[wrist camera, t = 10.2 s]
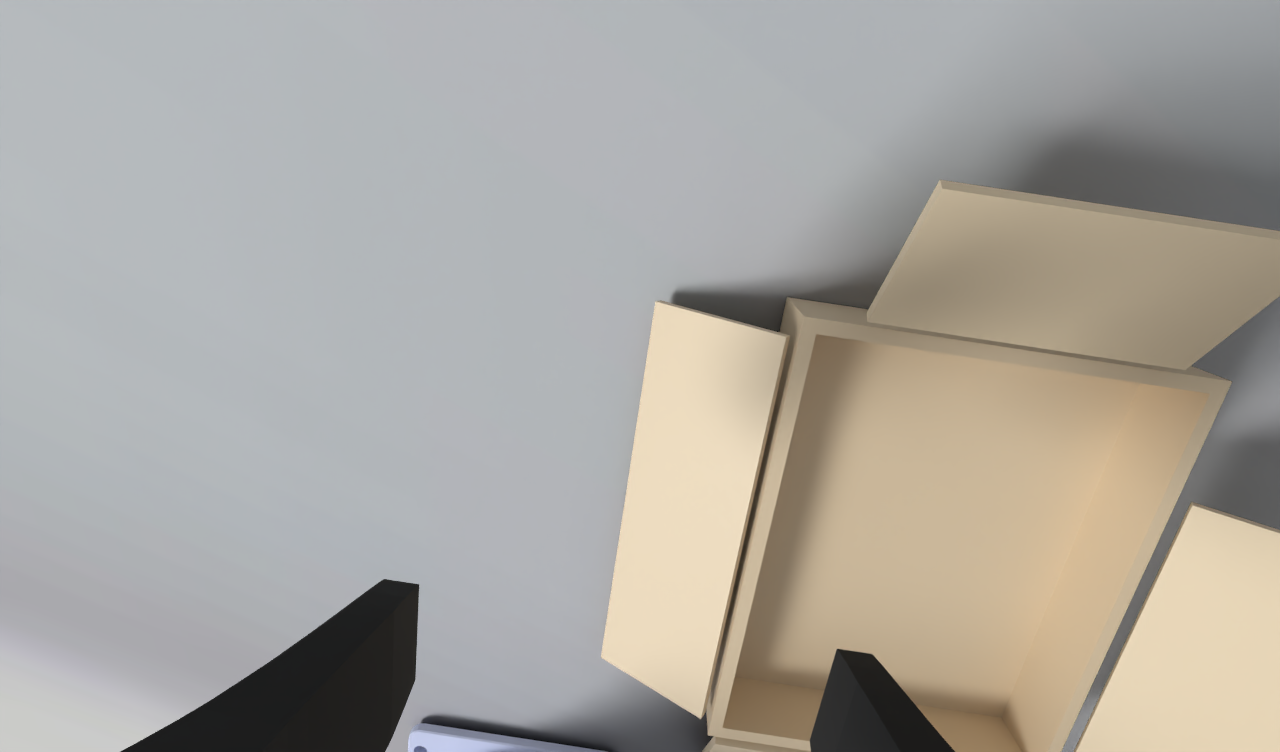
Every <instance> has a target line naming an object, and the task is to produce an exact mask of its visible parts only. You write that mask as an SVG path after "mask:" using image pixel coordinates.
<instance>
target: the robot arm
mask: <svg viewBox="0 0 1280 752" xmlns="http://www.w3.org/2000/svg"><path fill="white" fill-rule="evenodd" d="M418 597H419V584H412V583H406V582H399V581H393V580H386V579H383V580H382V581H381V582H379V583H378V584H376V585H375V586H374V587H372V588H371V589H369V590H368V591H367V592H365V593H364V594H362V595H361V596H360V597H358V598H357V599H356V600H354V601H353V602H352V603H350V604H349V605H348V606H346V607H345V608H344V609H342V610H341V611H340V612H338V613H337V614H336V615H334V616H333V617H332V618H330V619H329V620H327V621H326V622H325V623H323V624H322V625H321V626H319V627H318V628H317V629H315V630H314V631H312V632H311V633H310V634H308V635H307V636H305V637H304V638H303V639H301V640H300V641H298V642H297V643H296V644H294V645H293V646H291V647H290V648H288V649H287V650H286V651H284V652H283V653H281V654H280V655H279V656H277V657H276V658H274V659H273V660H271V661H270V662H269V663H267V664H266V665H264V666H263V667H261V668H260V669H258V670H257V671H255V672H253V673H252V674H250V675H249V676H247V677H246V678H244V679H243V680H241V681H240V682H238V683H237V684H235V685H234V686H232V687H230V688H229V689H227V690H226V691H224V692H223V693H221V694H220V695H218V696H217V697H215V698H214V699H212V700H210V701H209V702H207V703H206V704H204V705H202V706H201V707H199V708H197V709H196V710H194V711H192V712H191V713H189V714H187V715H185V716H184V717H182V718H180V719H179V720H177V721H175V722H173V723H172V724H170V725H168V726H166V727H164V728H163V729H161V730H159V731H157V732H155V733H154V734H152V735H150V736H148V737H147V738H145V739H143V740H141V741H139V742H138V743H136V744H134V745H132V746H130V747H128V748H126V749H125V750H123V751H121V752H385V751H386V749H387V747H388V745H389V743H390V741H391V739H392V736H393V734H394V731H395V729H396V727H397V724H398V722H399V719H400V717H401V715H402V712H403V710H404V707H405V705H406V702H407V699H408V697H409V694H410V692H411V689H412V687H413V684H414V682H415V672H416V647H417V622H418ZM421 746H422V747H421ZM424 747H425V748H424ZM810 747H811V752H955V751H954V750H953V749H952V747H951V746H950V745H949V744H948V743H947V742H946V741H945V739H944V738H943V737H942V736H941V735H940V734H939V732H938V731H937V730H936V729H935V728H934V726H933V725H932V724H931V723H930V722H929V721H928V719H927V718H926V717H925V716H924V715H923V713H922V712H921V711H920V710H919V709H918V707H917V706H916V705H915V704H914V703H913V701H912V700H911V699H910V698H909V697H908V695H907V694H906V693H905V692H904V691H903V689H902V688H901V687H900V686H899V685H898V683H897V682H896V681H895V680H894V679H893V677H892V676H891V675H890V674H889V673H888V671H887V670H886V669H885V668H884V667H883V665H882V664H881V663H880V662H879V661H878V660H877V659H876V657H875V656H874V655H873V654H869V653H863V652H856V651H850V650H843V649H837V650H836V653H835V657H834V660H833V663H832V667H831V670H830V673H829V677H828V680H827V684H826V687H825V690H824V694H823V697H822V700H821V704H820V707H819V711H818V714H817V717H816V721H815V724H814V727H813V731H812V734H811V738H810ZM408 752H608V751H601V750H595V749H588V748H582V747H575V746H569V745H562V744H556V743H549V742H543V741H536V740H530V739H523V738H517V737H510V736H504V735H497V734H491V733H484V732H478V731H471V730H465V729H458V728H452V727H445V726H439V725H432V724H426V723H420V724H417V725H415V726H414V727H413V728H412V730H411V733H410V735H409V738H408Z"/></svg>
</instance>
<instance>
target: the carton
mask: <svg viewBox="0 0 1280 752" xmlns="http://www.w3.org/2000/svg"><path fill="white" fill-rule="evenodd" d="M867 311H868V309H863V308H856V307H849V306H843V305H836V304H830V303H823V302H817V301H810V300H803V299H797V298H790V297H787V299H786V304H785V309H784V313H783V318H782V322H781V327H780V331H779V332H776V331H772V330H768V329H765V328H761V327H757V326H754V325H750V324H746V323H742V322H739V321H735V320H731V319H728V318H724V317H720V316H717V315H713V314H709V313H705V312H702V311H698V310H694V309H691V308H687V307H683V306H679V305H676V304H672V303H668V302H665V301H656V302H655V308H654V315H653V321H652V328H651V334H650V341H649V347H648V354H647V360H646V367H645V373H644V380H643V386H642V393H641V399H640V406H639V412H638V419H637V425H636V432H635V439H634V445H633V452H632V458H631V465H630V471H629V478H628V484H627V491H626V497H625V504H624V510H623V517H622V523H621V530H620V536H619V543H618V549H617V556H616V562H615V569H614V575H613V582H612V588H611V595H610V601H609V608H608V615H607V621H606V628H605V634H604V641H603V647H602V654H601V658H603V659H604V660H606V661H608V662H609V663H611V664H612V665H614V666H616V667H617V668H619V669H620V670H622V671H624V672H625V673H627V674H629V675H630V676H632V677H633V678H635V679H637V680H638V681H640V682H642V683H643V684H645V685H646V686H648V687H650V688H651V689H653V690H654V691H656V692H658V693H659V694H661V695H663V696H664V697H666V698H667V699H669V700H671V701H672V702H674V703H676V704H677V705H679V706H680V707H682V708H684V709H685V710H687V711H688V712H690V713H692V714H693V715H695V716H697V717H698V718H700V719H701V718H702V717H703V716H704V714H705V712H707V729H708V736H714V737H713V738H712V739H711V740H710V742H709V743H708V744H707V746H706V747H705V748H704V749H703V751H702V752H811V747H810V738H811V734H812V731H813V727H814V724H815V721H816V717H817V714H818V711H819V707H820V704H821V700H822V697H823V694H824V690H825V687H826V684H827V680H828V677H829V673H830V670H831V667H832V663H833V660H834V657H835V653H836V650H837V649H843V650H850V651H856V652H863V653H869V654H873V655H874V656H875V657H876V659H877V660H878V661H879V662H880V663H881V664H882V665H883V667H884V668H885V669H886V670H887V671H888V673H889V674H890V675H891V676H892V677H893V679H894V680H895V681H896V682H897V683H898V685H899V686H900V687H901V688H902V689H903V691H904V692H905V693H906V694H907V695H908V697H909V698H910V699H911V700H912V701H913V703H914V704H915V705H916V706H917V707H918V709H919V710H920V711H921V712H922V713H923V715H924V716H925V717H926V718H927V719H928V721H929V722H930V723H931V724H932V725H933V726H934V728H935V729H936V730H937V731H938V732H939V734H940V735H941V736H942V737H943V738H944V739H945V741H946V742H947V743H948V744H949V745H950V746H951V747H952V749H953V750H954V751H955V752H1061V751H1062V749H1063V747H1064V744H1065V742H1066V740H1067V738H1068V736H1069V734H1070V731H1071V729H1072V727H1073V725H1074V723H1075V721H1076V718H1077V716H1078V714H1079V712H1080V710H1081V708H1082V705H1083V703H1084V701H1085V699H1086V697H1087V695H1088V692H1089V690H1090V688H1091V686H1092V684H1093V682H1094V679H1095V677H1096V675H1097V673H1098V671H1099V669H1100V667H1101V664H1102V662H1103V660H1104V658H1105V656H1106V654H1107V651H1108V649H1109V647H1110V645H1111V643H1112V641H1113V638H1114V636H1115V634H1116V632H1117V630H1118V628H1119V625H1120V623H1121V621H1122V619H1123V617H1124V615H1125V612H1126V610H1127V608H1128V606H1129V604H1130V602H1131V599H1132V597H1133V595H1134V593H1135V591H1136V589H1137V587H1138V584H1139V582H1140V580H1141V578H1142V576H1143V574H1144V571H1145V569H1146V567H1147V565H1148V563H1149V561H1150V558H1151V556H1152V554H1153V552H1154V550H1155V548H1156V545H1157V543H1158V541H1159V539H1160V537H1161V535H1162V532H1163V530H1164V528H1165V526H1166V524H1167V522H1168V519H1169V517H1170V515H1171V513H1172V511H1173V509H1174V507H1175V504H1176V502H1177V500H1178V498H1179V496H1180V494H1181V491H1182V489H1183V487H1184V485H1185V483H1186V481H1187V478H1188V476H1189V474H1190V472H1191V470H1192V468H1193V465H1194V463H1195V461H1196V459H1197V457H1198V455H1199V452H1200V450H1201V448H1202V446H1203V444H1204V442H1205V439H1206V437H1207V435H1208V433H1209V431H1210V429H1211V427H1212V424H1213V422H1214V420H1215V418H1216V416H1217V414H1218V411H1219V409H1220V407H1221V405H1222V403H1223V401H1224V398H1225V396H1226V394H1227V392H1228V390H1229V388H1230V385H1231V383H1232V381H1229V380H1227V379H1224V378H1222V377H1219V376H1216V375H1214V374H1211V373H1209V372H1206V371H1203V370H1201V369H1198V368H1195V367H1193V366H1190V367H1189V368H1187V369H1186V370H1181V369H1174V368H1167V367H1161V366H1154V365H1148V364H1141V363H1135V362H1128V361H1121V360H1115V359H1108V358H1102V357H1095V356H1088V355H1082V354H1075V353H1069V352H1062V351H1055V350H1049V349H1042V348H1036V347H1029V346H1023V345H1016V344H1009V343H1003V342H996V341H990V340H983V339H976V338H970V337H963V336H957V335H950V334H944V333H937V332H930V331H924V330H917V329H911V328H904V327H897V326H891V325H884V324H878V323H871V322H867V314H866V313H867Z"/></svg>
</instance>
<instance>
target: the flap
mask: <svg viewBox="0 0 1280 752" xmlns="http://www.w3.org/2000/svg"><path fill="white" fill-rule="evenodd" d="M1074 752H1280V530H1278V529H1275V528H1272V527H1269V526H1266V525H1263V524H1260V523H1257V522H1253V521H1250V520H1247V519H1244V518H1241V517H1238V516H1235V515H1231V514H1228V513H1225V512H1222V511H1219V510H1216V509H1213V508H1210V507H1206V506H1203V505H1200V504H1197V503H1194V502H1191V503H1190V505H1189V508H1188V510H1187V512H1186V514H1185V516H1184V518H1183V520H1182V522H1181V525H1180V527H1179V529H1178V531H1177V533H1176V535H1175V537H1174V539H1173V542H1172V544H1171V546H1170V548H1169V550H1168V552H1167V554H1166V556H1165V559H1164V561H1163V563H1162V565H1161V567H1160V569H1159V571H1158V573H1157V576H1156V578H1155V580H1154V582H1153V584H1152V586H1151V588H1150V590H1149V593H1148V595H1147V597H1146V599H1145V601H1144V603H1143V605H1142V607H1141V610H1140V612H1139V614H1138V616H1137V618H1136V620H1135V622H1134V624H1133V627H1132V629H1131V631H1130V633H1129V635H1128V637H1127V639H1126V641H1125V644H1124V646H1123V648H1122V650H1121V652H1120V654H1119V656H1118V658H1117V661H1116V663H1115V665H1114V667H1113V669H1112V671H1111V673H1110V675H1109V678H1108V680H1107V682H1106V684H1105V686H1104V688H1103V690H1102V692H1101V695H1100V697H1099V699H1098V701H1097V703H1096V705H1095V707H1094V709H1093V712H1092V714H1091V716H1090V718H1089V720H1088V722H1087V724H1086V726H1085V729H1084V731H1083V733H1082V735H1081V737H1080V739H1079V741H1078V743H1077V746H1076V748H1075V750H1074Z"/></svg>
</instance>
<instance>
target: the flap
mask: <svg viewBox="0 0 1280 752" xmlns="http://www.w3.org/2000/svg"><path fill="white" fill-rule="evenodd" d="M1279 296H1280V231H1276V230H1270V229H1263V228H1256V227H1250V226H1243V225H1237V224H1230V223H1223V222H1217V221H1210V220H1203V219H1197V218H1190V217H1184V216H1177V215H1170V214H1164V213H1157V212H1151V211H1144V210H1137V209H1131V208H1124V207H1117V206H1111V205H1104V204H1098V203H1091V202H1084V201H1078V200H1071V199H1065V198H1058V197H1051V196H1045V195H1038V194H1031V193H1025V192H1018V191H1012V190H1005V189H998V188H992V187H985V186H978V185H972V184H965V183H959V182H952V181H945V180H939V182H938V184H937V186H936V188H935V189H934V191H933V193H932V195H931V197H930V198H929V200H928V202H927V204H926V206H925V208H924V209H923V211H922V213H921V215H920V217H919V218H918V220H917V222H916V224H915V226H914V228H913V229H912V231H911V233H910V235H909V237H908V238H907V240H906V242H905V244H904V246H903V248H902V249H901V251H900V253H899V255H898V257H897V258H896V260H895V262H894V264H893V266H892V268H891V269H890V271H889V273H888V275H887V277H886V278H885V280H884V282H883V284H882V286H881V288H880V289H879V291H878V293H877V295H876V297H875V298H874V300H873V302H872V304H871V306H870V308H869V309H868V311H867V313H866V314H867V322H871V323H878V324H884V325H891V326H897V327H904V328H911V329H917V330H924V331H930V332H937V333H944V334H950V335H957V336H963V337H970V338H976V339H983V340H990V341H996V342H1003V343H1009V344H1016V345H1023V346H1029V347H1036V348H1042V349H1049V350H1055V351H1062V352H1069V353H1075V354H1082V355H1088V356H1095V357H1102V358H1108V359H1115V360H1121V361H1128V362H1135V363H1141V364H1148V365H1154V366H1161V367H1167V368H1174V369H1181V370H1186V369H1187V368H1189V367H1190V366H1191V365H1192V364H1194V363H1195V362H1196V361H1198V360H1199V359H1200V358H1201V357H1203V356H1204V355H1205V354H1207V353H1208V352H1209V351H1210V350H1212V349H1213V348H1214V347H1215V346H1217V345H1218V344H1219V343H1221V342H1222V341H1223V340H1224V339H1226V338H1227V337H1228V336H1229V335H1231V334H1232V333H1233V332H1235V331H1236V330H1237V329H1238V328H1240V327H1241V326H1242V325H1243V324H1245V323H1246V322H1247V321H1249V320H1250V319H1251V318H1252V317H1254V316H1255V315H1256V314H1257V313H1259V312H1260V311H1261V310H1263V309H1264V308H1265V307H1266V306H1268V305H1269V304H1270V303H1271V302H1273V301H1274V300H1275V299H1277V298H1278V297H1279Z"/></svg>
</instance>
